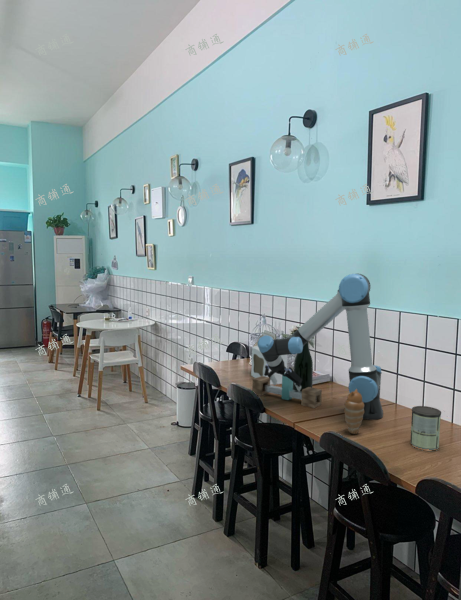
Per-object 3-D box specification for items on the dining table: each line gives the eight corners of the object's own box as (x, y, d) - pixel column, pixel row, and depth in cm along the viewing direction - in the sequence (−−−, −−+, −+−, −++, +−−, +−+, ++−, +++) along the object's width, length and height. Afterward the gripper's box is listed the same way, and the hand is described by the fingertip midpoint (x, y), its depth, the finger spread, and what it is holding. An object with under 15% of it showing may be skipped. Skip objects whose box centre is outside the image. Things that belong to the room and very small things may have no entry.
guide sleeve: (321, 404, 225) (321, 389, 224) (314, 408, 219) (315, 392, 219) (308, 401, 229) (308, 386, 228) (301, 405, 223) (301, 389, 223)
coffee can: (405, 440, 182) (407, 405, 181) (431, 440, 182) (433, 405, 181) (416, 451, 172) (419, 414, 170) (444, 451, 172) (446, 414, 171)
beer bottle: (311, 389, 252) (313, 329, 249) (312, 394, 241) (315, 332, 239) (292, 388, 253) (294, 328, 250) (292, 393, 242) (295, 331, 240)
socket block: (269, 392, 244) (270, 377, 243) (260, 396, 236) (260, 380, 236) (261, 390, 247) (262, 375, 246) (252, 394, 239) (252, 379, 239)
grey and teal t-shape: (316, 403, 225) (318, 378, 223) (313, 405, 221) (314, 380, 220) (267, 392, 241) (268, 369, 240) (263, 394, 238) (264, 370, 237)
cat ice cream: (347, 428, 193) (349, 386, 192) (366, 432, 189) (368, 389, 187) (339, 434, 186) (341, 390, 185) (358, 439, 182) (360, 394, 180)
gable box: (250, 375, 279) (252, 329, 276) (271, 374, 283) (272, 329, 281) (265, 385, 258) (267, 335, 256) (286, 383, 262) (288, 334, 260)
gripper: (249, 362, 225) (263, 386, 238) (294, 372, 210) (307, 398, 224) (255, 350, 229) (269, 375, 242) (301, 359, 214) (313, 385, 227)
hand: (287, 386), depth 233 cm, fingers open, 13 cm apart
